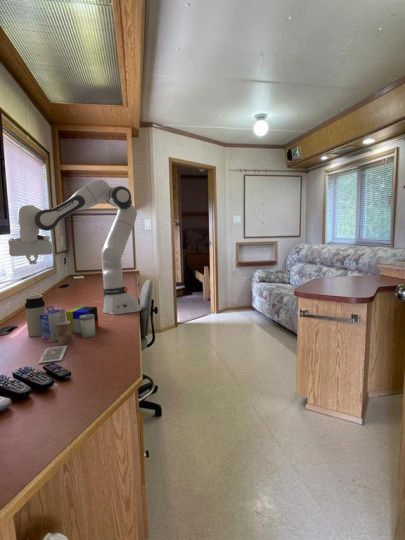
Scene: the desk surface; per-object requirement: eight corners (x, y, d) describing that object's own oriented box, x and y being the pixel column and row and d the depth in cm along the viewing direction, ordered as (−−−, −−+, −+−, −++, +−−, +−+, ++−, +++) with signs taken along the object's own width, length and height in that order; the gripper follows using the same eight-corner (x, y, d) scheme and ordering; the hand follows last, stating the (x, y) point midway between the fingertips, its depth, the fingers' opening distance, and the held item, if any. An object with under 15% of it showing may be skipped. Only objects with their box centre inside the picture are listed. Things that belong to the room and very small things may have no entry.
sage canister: (97, 332, 144) (95, 313, 143) (94, 336, 138) (93, 317, 137) (82, 333, 143) (80, 314, 142) (79, 338, 137) (77, 318, 136)
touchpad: (67, 348, 127) (67, 342, 127) (61, 362, 113) (61, 356, 112) (46, 350, 125) (46, 345, 125) (38, 366, 111) (37, 360, 110)
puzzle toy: (87, 333, 144) (85, 312, 143) (68, 332, 146) (65, 311, 145) (98, 326, 154) (96, 306, 152) (80, 326, 156) (78, 306, 154)
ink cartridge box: (58, 334, 144) (55, 303, 142) (68, 335, 142) (65, 304, 140) (41, 341, 134) (38, 309, 133) (51, 342, 133) (48, 309, 131)
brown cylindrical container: (72, 340, 135) (70, 320, 134) (71, 344, 130) (69, 323, 129) (59, 342, 133) (57, 321, 132) (58, 346, 128) (56, 325, 127)
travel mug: (51, 332, 146) (47, 295, 144) (34, 338, 140) (30, 298, 137) (41, 330, 151) (37, 293, 148) (25, 335, 144) (20, 297, 142)
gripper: (5, 238, 154) (8, 266, 156) (49, 236, 158) (52, 263, 159) (10, 238, 160) (13, 264, 162) (52, 236, 164) (55, 262, 166)
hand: (33, 264), depth 161 cm, fingers closed
